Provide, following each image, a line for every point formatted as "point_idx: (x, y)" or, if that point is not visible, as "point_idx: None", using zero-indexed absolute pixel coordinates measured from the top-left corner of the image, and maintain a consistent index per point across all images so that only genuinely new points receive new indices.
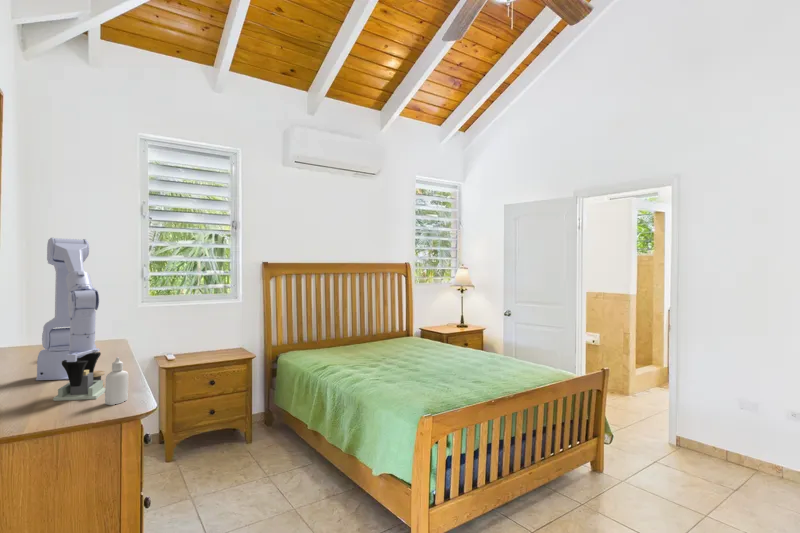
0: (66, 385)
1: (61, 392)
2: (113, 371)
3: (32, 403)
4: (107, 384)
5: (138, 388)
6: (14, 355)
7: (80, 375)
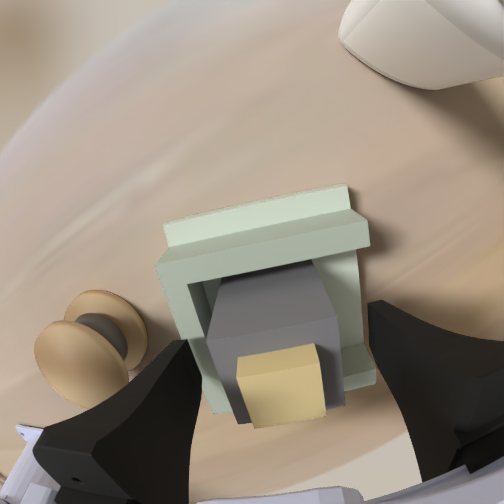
0: None
1: (372, 360)
2: None
3: (382, 401)
4: None
5: (109, 68)
6: None
7: (433, 328)
